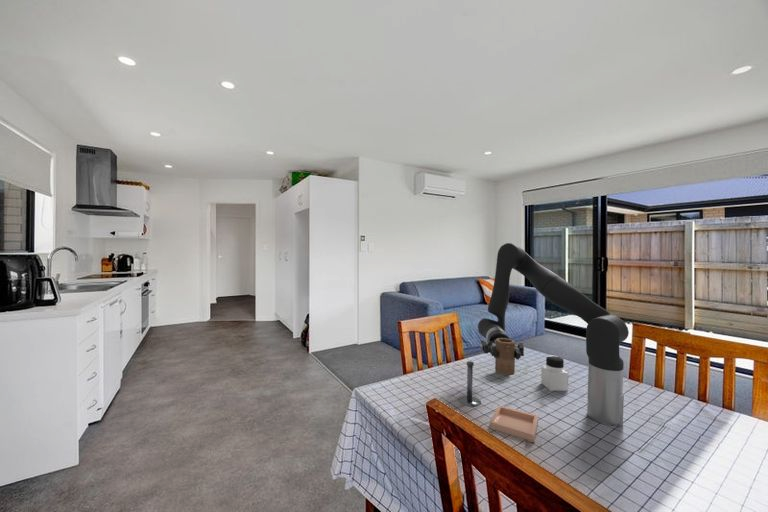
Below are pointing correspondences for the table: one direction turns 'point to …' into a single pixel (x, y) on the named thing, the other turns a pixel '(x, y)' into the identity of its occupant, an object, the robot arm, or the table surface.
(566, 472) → the table surface
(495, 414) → the tray
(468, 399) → the paper towel holder
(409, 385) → the table surface
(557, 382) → the medicine bottle
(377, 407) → the table surface
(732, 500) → the table surface
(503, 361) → the octagonal pencil holder
